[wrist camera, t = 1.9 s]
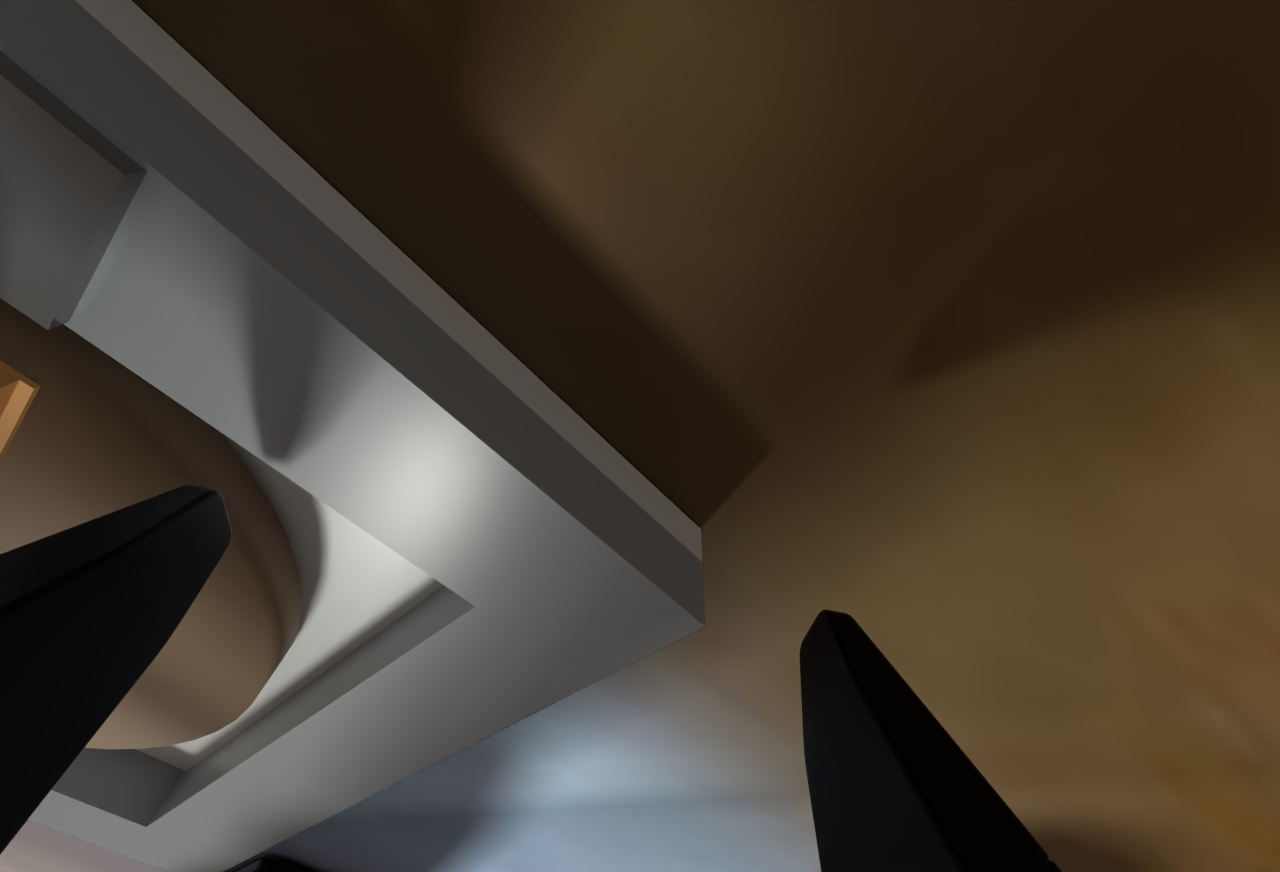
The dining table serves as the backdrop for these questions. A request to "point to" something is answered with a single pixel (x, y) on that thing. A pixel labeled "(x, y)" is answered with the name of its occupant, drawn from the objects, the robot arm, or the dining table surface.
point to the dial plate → (316, 445)
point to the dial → (122, 476)
